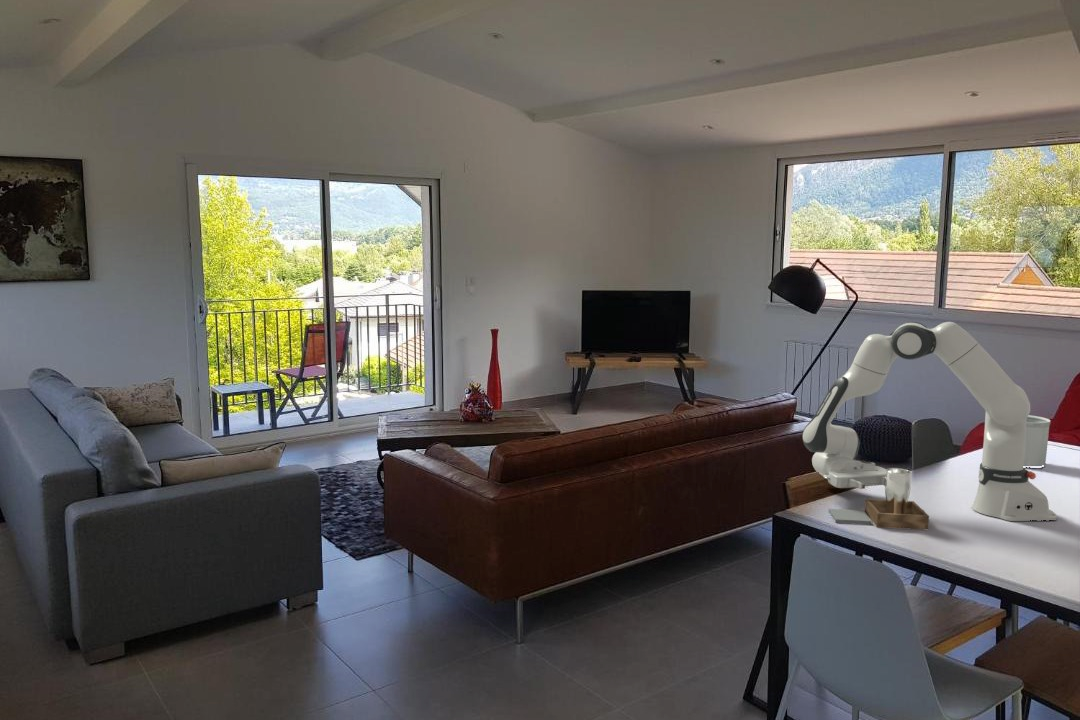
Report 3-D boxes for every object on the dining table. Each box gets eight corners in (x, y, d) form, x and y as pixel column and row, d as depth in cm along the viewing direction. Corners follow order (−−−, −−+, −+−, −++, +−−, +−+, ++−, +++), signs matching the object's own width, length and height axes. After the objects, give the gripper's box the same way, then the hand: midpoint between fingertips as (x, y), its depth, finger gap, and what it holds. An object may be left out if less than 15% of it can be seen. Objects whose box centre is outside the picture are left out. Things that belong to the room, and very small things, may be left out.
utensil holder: (1013, 469, 305) (1017, 422, 303) (993, 458, 320) (997, 413, 318) (1054, 470, 305) (1059, 422, 302) (1032, 459, 319) (1036, 414, 317)
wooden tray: (912, 514, 252) (913, 501, 251) (928, 529, 238) (929, 516, 238) (864, 511, 254) (865, 498, 253) (876, 527, 240) (877, 513, 239)
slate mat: (862, 513, 252) (862, 510, 252) (871, 524, 242) (871, 521, 242) (828, 511, 253) (828, 508, 253) (835, 522, 243) (835, 519, 243)
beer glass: (910, 525, 242) (914, 474, 240) (885, 523, 243) (888, 473, 241) (905, 517, 249) (908, 468, 246) (880, 515, 250) (883, 467, 248)
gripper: (820, 465, 264) (847, 477, 251) (876, 461, 269) (905, 473, 256) (819, 484, 265) (845, 497, 252) (875, 480, 270) (904, 493, 257)
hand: (876, 485), depth 254 cm, fingers open, 8 cm apart
